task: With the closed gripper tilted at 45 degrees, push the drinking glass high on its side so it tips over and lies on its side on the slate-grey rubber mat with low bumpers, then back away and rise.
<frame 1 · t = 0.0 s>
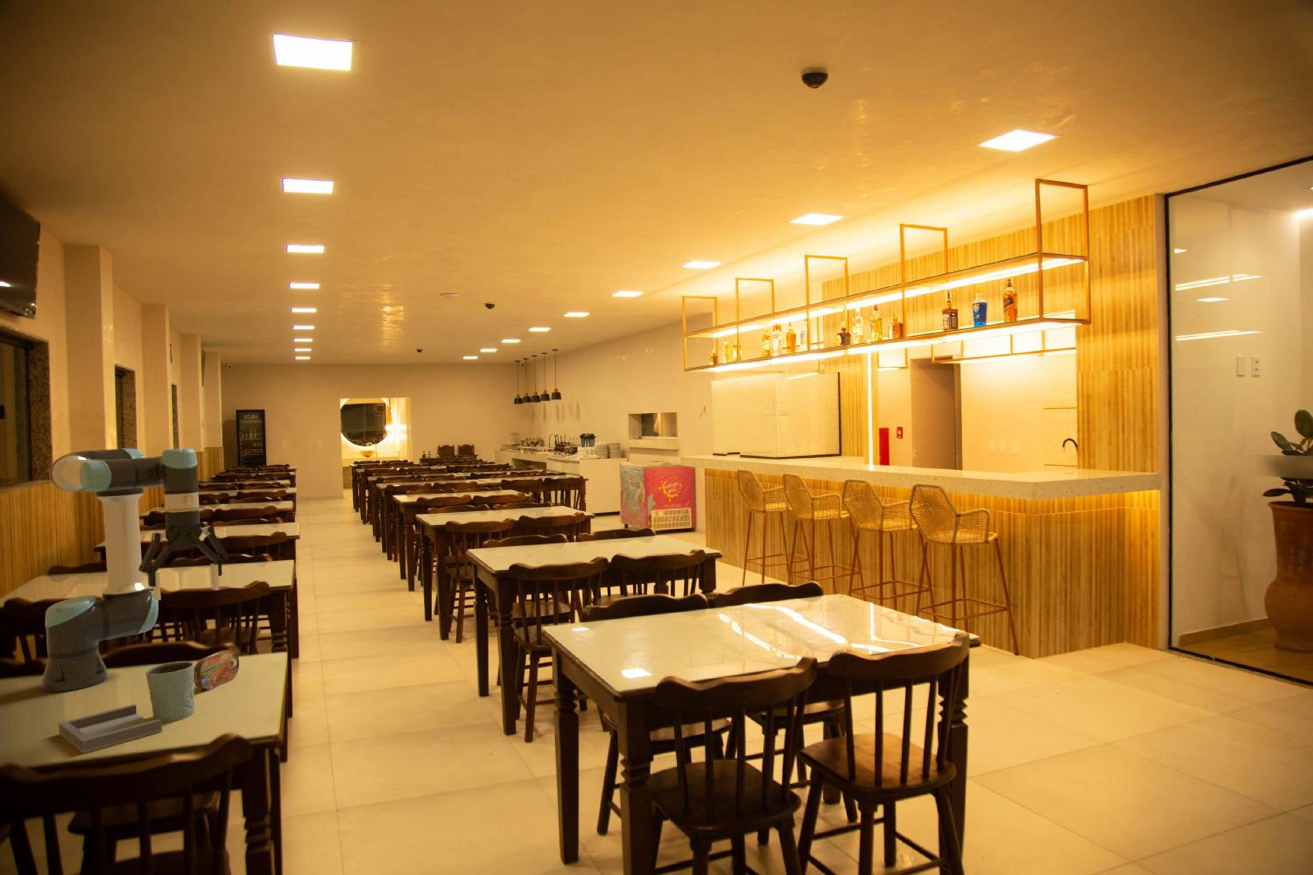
hand: (187, 594, 214), 28 cm above the table, tool pointing down, fingers open, 13 cm apart
tin: (217, 685, 231), on the table
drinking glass: (173, 716, 206), on the table
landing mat: (110, 732, 197), on the table
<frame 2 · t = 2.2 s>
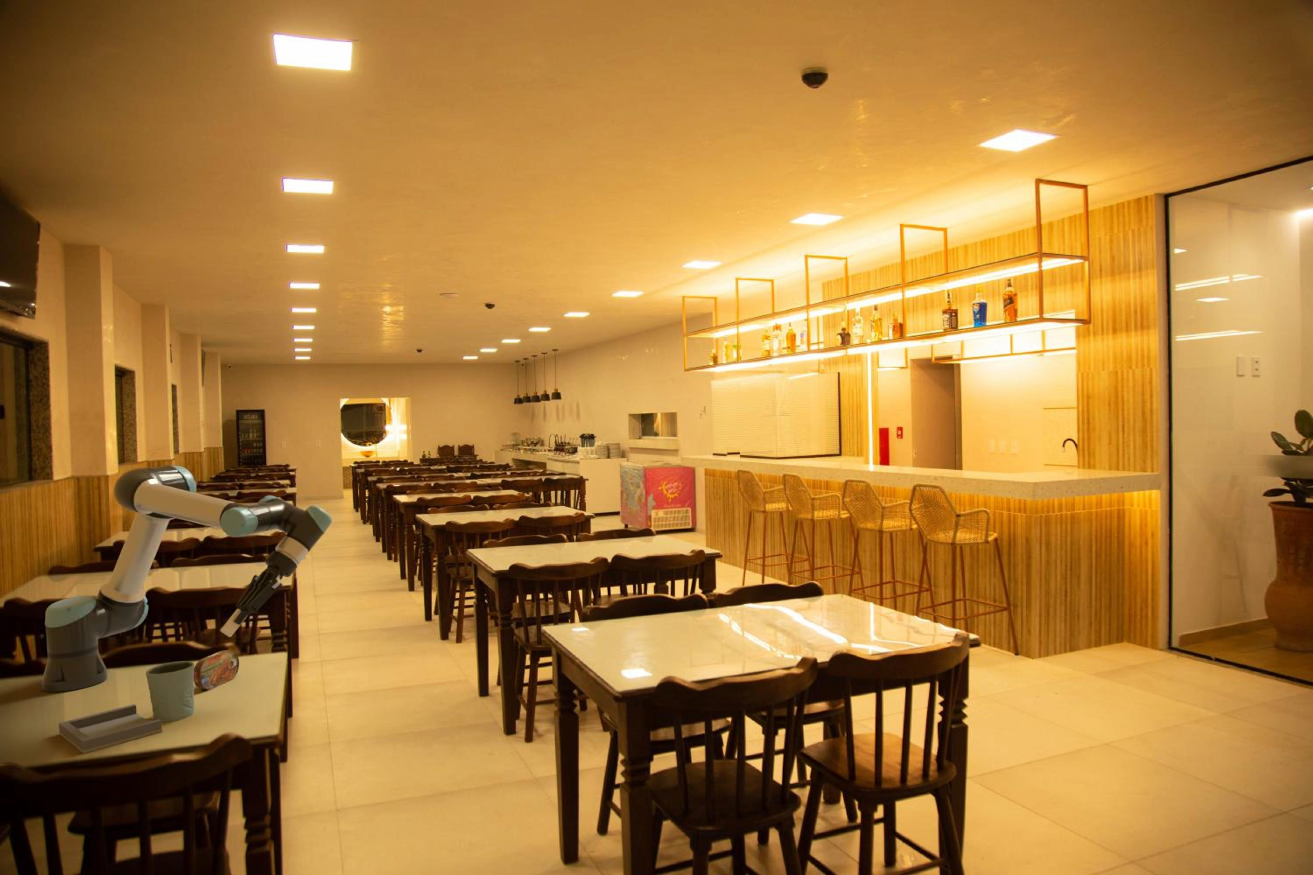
hand: (225, 633, 215), 17 cm above the table, tool tilted 45°, fingers closed
nothing on the table moved.
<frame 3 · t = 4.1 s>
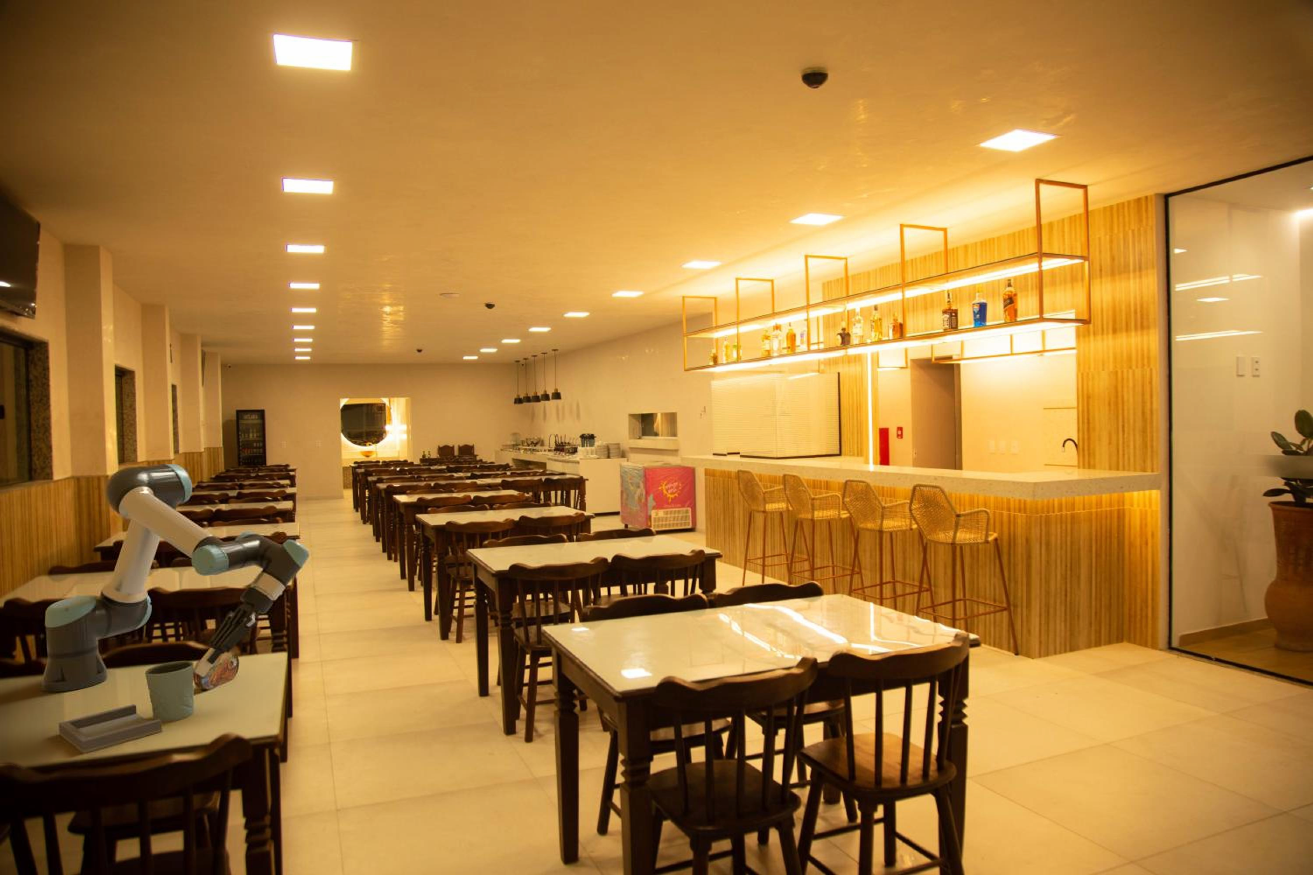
hand: (197, 673, 210), 9 cm above the table, tool tilted 45°, fingers closed
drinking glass: (173, 716, 206), on the table, touching gripper
everything else where it was.
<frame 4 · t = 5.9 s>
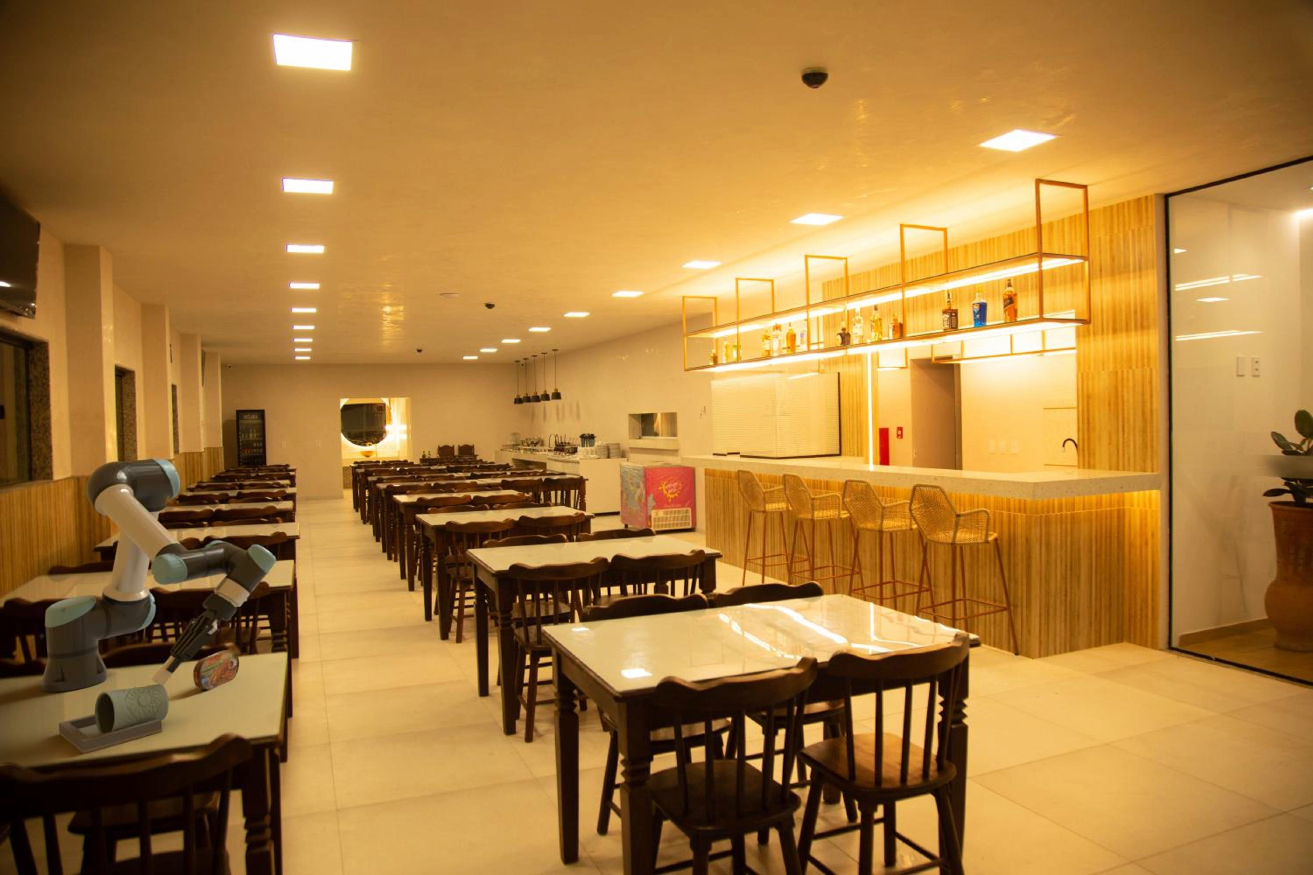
hand: (156, 682, 204), 9 cm above the table, tool tilted 45°, fingers closed
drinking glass: (160, 702, 202), point 5 cm above the table, touching gripper, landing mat
everything else where it was.
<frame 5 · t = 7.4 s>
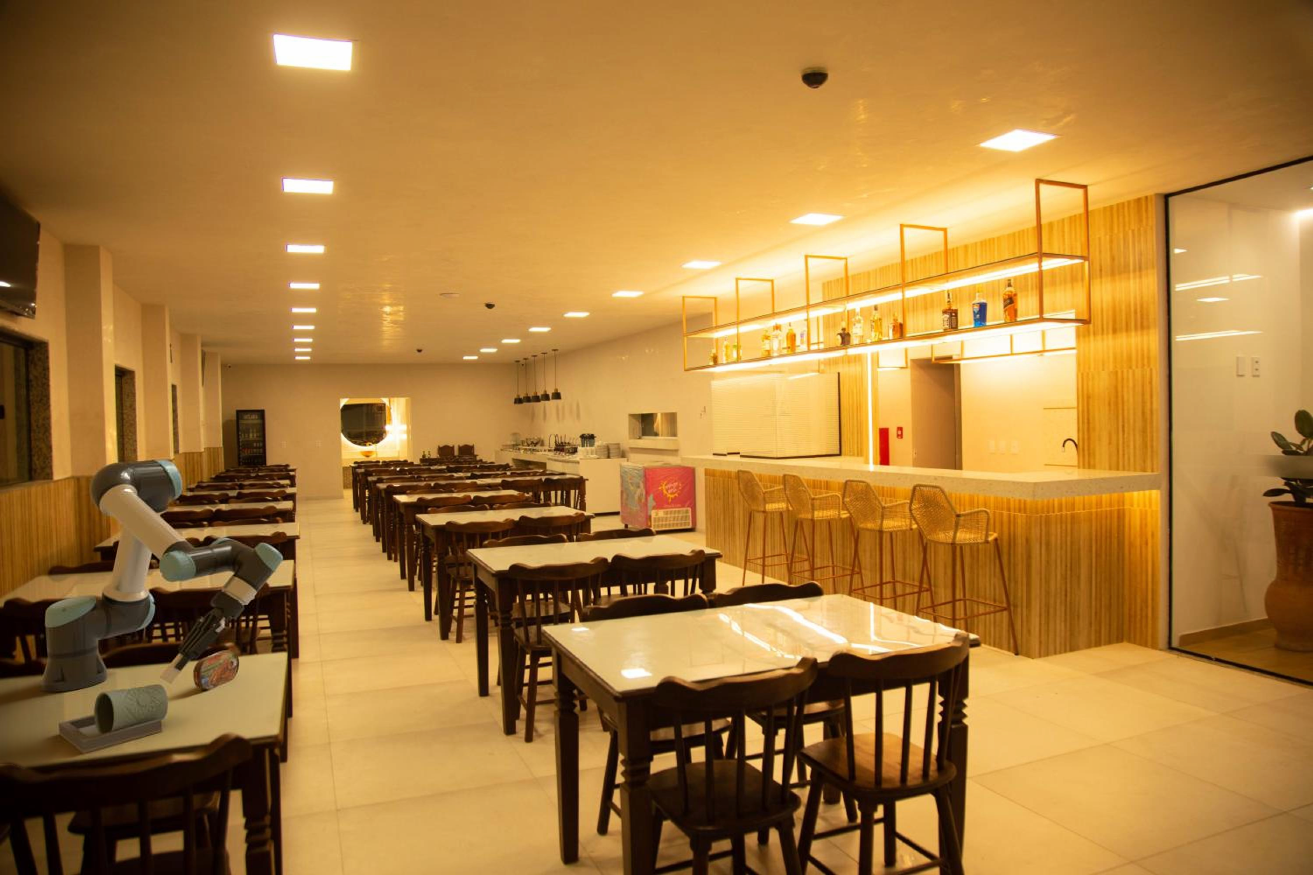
hand: (165, 680, 205), 9 cm above the table, tool tilted 45°, fingers closed
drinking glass: (159, 703, 202), point 5 cm above the table, touching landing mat
everything else where it was.
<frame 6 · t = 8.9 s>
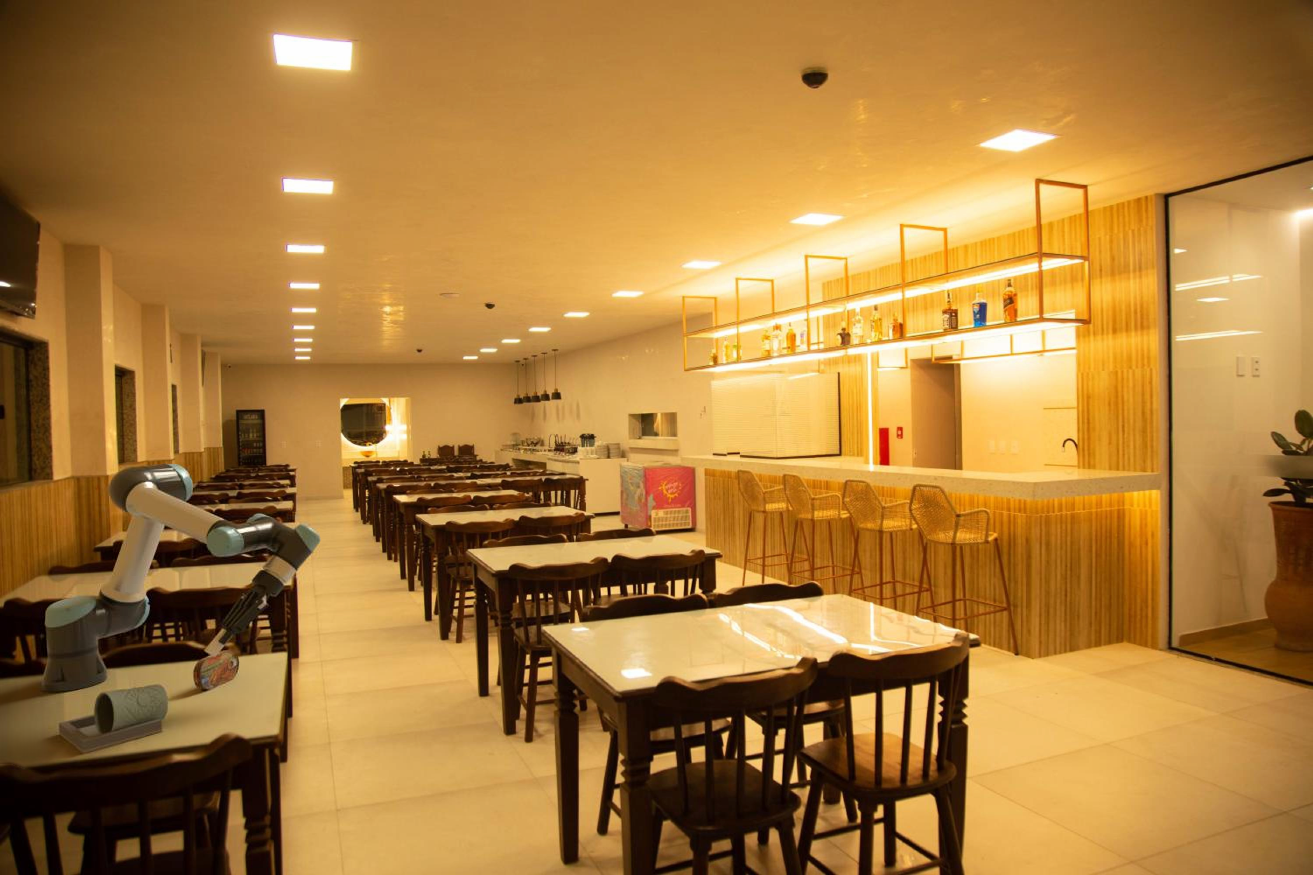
hand: (209, 653, 214), 13 cm above the table, tool tilted 45°, fingers closed
nothing on the table moved.
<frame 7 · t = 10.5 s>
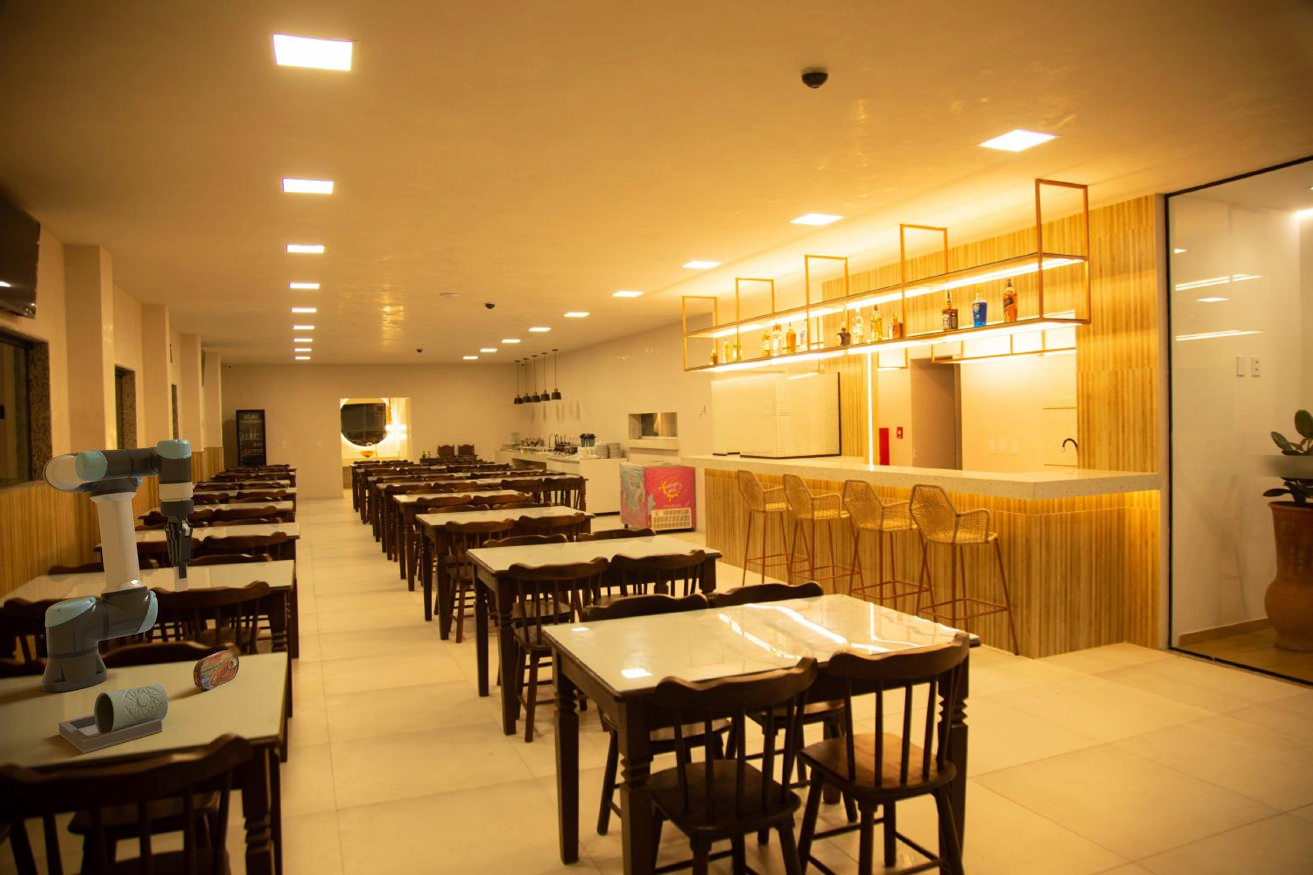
hand: (181, 590, 219), 28 cm above the table, tool pointing down, fingers closed
nothing on the table moved.
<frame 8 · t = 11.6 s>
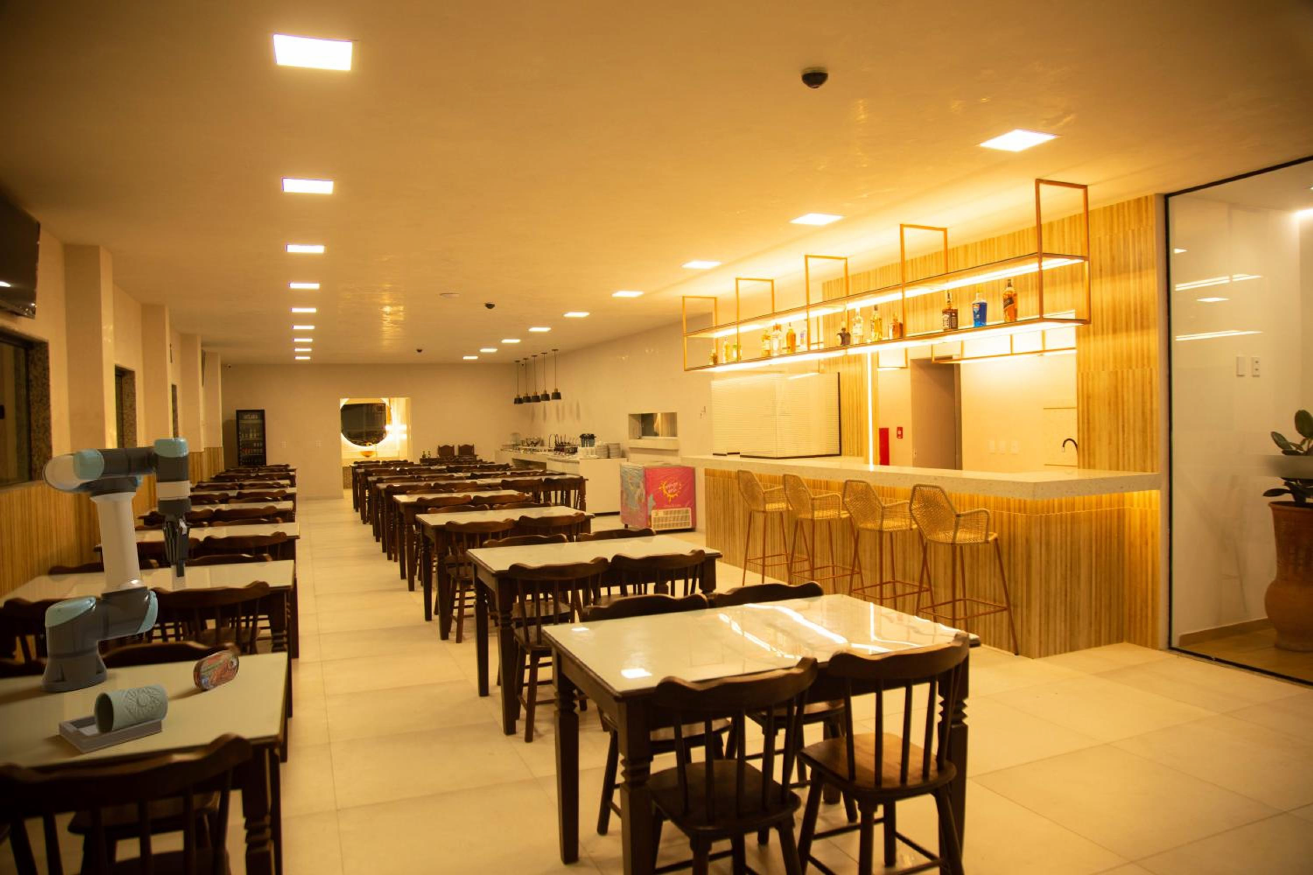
hand: (179, 589, 219), 28 cm above the table, tool pointing down, fingers closed
nothing on the table moved.
at the end: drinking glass tilted 85°; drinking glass touching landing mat; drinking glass inside the target area (7.0 cm from its centre), point 4.6 cm above the table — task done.
